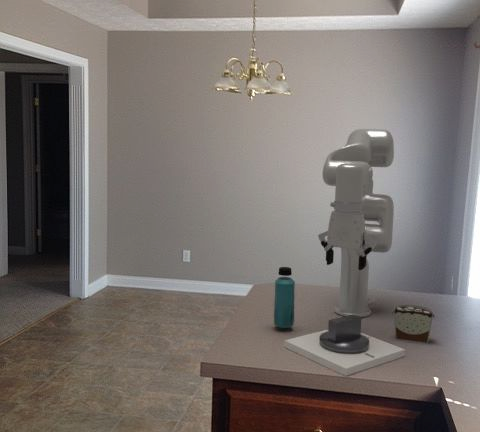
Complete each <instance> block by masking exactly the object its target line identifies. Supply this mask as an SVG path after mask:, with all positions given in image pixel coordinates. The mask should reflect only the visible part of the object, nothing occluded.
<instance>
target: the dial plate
mask: <svg viewBox="0 0 480 432" xmlns="http://www.w3.org/2000/svg"><path fill="white" fill-rule="evenodd" d="M325 332H328V329H324V330H320V331H317V332H312V333H308V334H303V335H301V336H296V337H292V338H289V339H285V340H284V346H283V347H284V348H286V349H287V350H290V351H292V352H294V353H296V354H299V355H300V356H303V357H304V358H306V359H309V360H311V361H313V362H315V363H316V364H320V365H322V366H323V367H325V368H327V369H330V370H332V371H334V372H336V373H338V374H341V375H342V376H345V377H347V376H351V375H353V374H356V373H358V372H362V371H365V370H369V369H371V368H373V367H377V366H380V365H382V364H386V363H389V362H392V361H395V360H398V359H400V358H403V357H405V354H406V348H403V347H400V346H397V345H394V344H391V343H388V342H386V341H384V340H382V339H378V338H375V337H373V336H370V335H368V334H365V333H363V332H361V334H362V335H364V336H366V337H367V338H368V339H369V348H368V350H366V351H364V352H361V353H354V354H347V353H338V352H333V351H330V350H327V349H325V348H323V347H322V346H321V345H320V344H319V338H320V335H321V334H322V333H325Z"/></svg>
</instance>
